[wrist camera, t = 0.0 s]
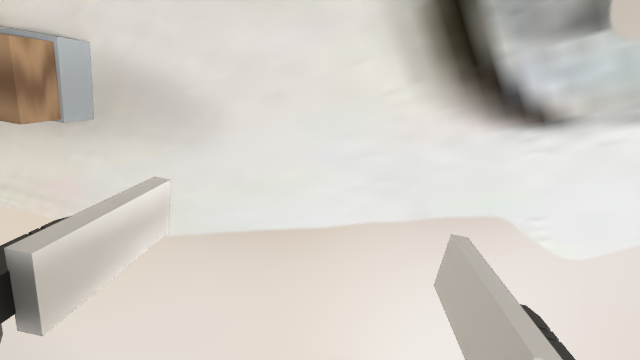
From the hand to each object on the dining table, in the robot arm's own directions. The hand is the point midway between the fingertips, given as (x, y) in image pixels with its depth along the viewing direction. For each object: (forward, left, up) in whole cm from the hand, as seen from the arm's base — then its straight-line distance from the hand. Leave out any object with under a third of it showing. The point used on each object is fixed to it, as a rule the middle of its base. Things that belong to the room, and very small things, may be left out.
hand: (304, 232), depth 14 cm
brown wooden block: (-1, -38, -23) cm, 45 cm away
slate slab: (-1, -38, -28) cm, 48 cm away
